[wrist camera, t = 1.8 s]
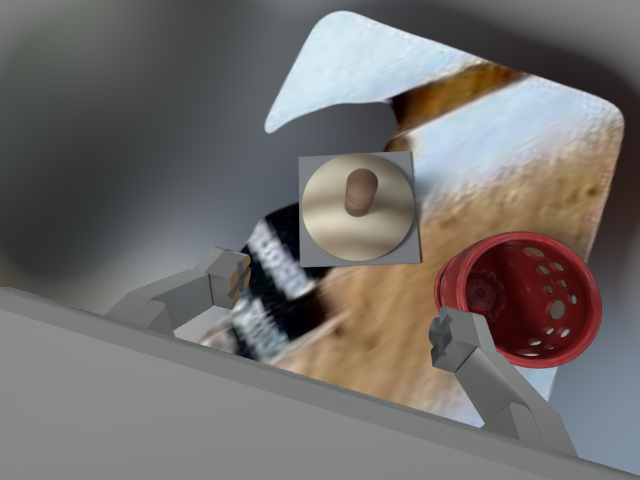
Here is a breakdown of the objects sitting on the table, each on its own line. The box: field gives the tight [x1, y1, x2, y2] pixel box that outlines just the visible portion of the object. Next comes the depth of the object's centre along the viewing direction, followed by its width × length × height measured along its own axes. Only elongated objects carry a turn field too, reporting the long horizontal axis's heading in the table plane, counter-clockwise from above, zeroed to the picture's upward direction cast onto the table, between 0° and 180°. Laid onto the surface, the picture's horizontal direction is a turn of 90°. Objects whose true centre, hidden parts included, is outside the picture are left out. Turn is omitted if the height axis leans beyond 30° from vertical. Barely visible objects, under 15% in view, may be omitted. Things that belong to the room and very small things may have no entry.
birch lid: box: [302, 153, 414, 262], centre depth 36 cm, size 16×16×10 cm
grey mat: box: [299, 151, 421, 267], centre depth 41 cm, size 17×17×1 cm
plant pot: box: [434, 232, 602, 369], centre depth 32 cm, size 13×13×12 cm
